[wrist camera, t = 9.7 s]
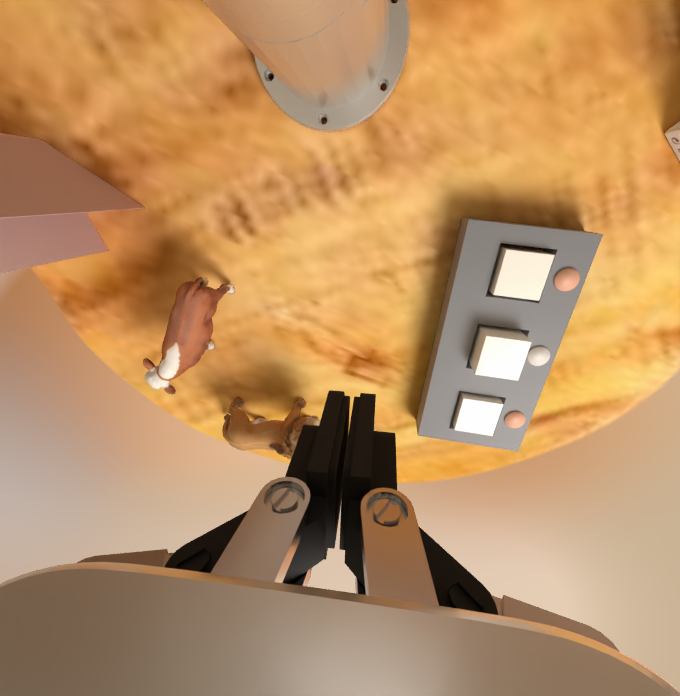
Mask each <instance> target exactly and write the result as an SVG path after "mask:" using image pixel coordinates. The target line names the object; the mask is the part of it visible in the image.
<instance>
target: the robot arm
mask: <svg viewBox="0 0 680 696" xmlns="http://www.w3.org/2000/svg"><path fill="white" fill-rule="evenodd" d="M202 1H203V2H204V3H205V4H206V5H207V6H208V7H209V8H210V10H211V11H212V12H213V13H214V14H215V15H216V16H217V17H218V18H219V19H220V20H221V21H222V22H223V23H224V24H225V25H226V26H227V27H228V28H229V29H230V30H231V31H232V32H233V33H234V34H235V35H236V36H237V37H238V38H239V40H240V41H241V42H242V43H243V44H244V45H245V46H246V47H247V48H248V49H249V50H250V51H251V52H252V53H253V54H254V58H255V63H256V67H257V70H258V73H259V75H260V78H261V80H262V83H263V85H264V87H265V88H266V90H267V92H268V94H269V95H270V97H271V99H272V100H273V101H274V102H275V103H276V105H277V106H278V107H279V108H280V109H281V110H282V111H283V112H284V113H285V114H286V115H287V116H289V117H290V118H291V119H293V120H294V121H296V122H297V123H299V124H301V125H303V126H305V127H308V128H310V129H313V130H318V131H324V132H335V131H343V130H346V129H349V128H353V127H355V126H357V125H359V124H361V123H362V122H364V121H366V120H367V119H369V118H370V117H371V116H372V115H373V114H375V113H376V112H377V111H378V110H379V109H380V108H381V107H382V105H383V104H384V103H385V102H386V101H387V99H388V98H389V97H390V95H391V93H392V92H393V90H394V88H395V86H396V85H397V83H398V80H399V78H400V75H401V73H402V70H403V67H404V64H405V59H406V55H407V50H408V42H409V10H408V4H407V0H398V1H397V3H394V4H393V3H392V2H391V0H202ZM271 75H274V79H273V80H272V81H270V76H271ZM383 84H385V85H386V86H387V88H386V90H385V91H382V90H381V89H380V87H381V86H382V85H383ZM323 118H327V123H326V124H322V119H323ZM375 397H376V394H365V393H361V394H360V397H354V402H353V409H352V416H351V422H350V429H349V407H350V396H344V392H342V391H329V393H328V396H327V400H326V403H325V407H324V411H323V414H322V418H321V421H320V425H319V426H316V425H306V424H304V425H303V427H302V430H301V433H300V436H299V439H298V441H297V444H296V447H295V450H294V453H293V456H292V459H291V462H290V465H289V467H288V471H287V473H286V476H285V477H282V478H278V479H275V480H272V481H271V482H269V483H268V484H266V485H265V486H264V487H263V489H262V490H261V491H260V493H259V495H258V496H257V498H256V499H255V501H254V503H253V504H252V506H251V508H250V509H249V510H248V511H246V512H244V513H243V514H241V515H239V516H237V517H235V518H233V519H232V520H230V521H228V522H226V523H224V524H222V525H220V526H219V527H217V528H215V529H213V530H211V531H209V532H207V533H206V534H204V535H202V536H200V537H198V538H196V539H195V540H193V541H191V542H189V543H187V544H185V545H184V546H182V547H181V548H180V549H178V550H177V551H176V552H175V553H168V551H167V549H163V550H153V551H142V552H133V553H121V554H110V555H100V556H93V557H89V558H85V559H83V560H81V561H80V562H77V563H75V564H65V565H58V566H54V567H49V568H45V569H41V570H36V571H33V572H30V573H27V574H23V575H20V576H18V577H15V578H13V579H10V580H8V581H5V582H3V583H1V584H0V696H680V692H679V691H678V690H677V689H676V688H675V687H673V686H672V685H671V684H670V683H669V682H667V681H666V680H665V679H663V678H662V677H660V676H659V675H658V674H656V673H655V672H653V671H652V670H650V669H649V668H647V667H645V666H644V665H642V664H641V663H639V662H637V661H636V660H634V659H632V658H630V657H628V656H626V655H624V654H622V653H621V652H619V650H618V649H617V648H616V647H615V645H614V644H613V643H612V642H611V641H610V640H609V639H608V638H607V637H605V636H604V635H603V634H602V633H601V632H599V631H597V630H596V629H594V628H592V627H590V626H588V625H585V624H583V623H580V622H577V621H574V620H571V619H569V618H566V617H563V616H560V615H558V614H555V613H552V612H549V611H547V610H544V609H541V608H538V607H535V606H533V605H530V604H527V603H524V602H522V601H519V600H516V599H513V598H510V597H508V596H505V595H503V598H502V599H500V598H497V597H494V596H492V595H491V594H490V592H489V591H488V590H487V589H486V588H485V587H484V586H483V585H482V584H481V583H480V582H479V581H478V580H477V579H476V578H475V577H474V576H473V575H472V574H470V573H469V572H468V571H467V570H466V569H465V568H464V567H463V566H462V565H460V564H459V563H458V562H457V561H456V560H455V559H454V558H453V557H452V556H451V555H450V554H448V553H447V552H446V551H445V550H444V549H443V548H442V547H441V546H440V545H439V544H437V543H436V542H435V541H434V540H433V539H432V538H431V537H430V536H429V535H427V534H426V533H425V532H424V531H423V530H422V529H421V528H420V527H419V526H418V523H417V519H416V515H415V512H414V508H413V506H412V503H411V501H410V500H409V499H408V498H407V497H406V496H405V495H404V494H402V493H401V492H399V491H397V473H396V442H395V433H389V432H379V431H374V415H375ZM348 429H349V435H348ZM341 499H342V500H341ZM340 506H341V528H340V549H342V550H345V564H346V565H347V566H348V567H349V569H350V570H351V571H352V572H353V573H354V575H355V576H356V583H355V584H356V594H355V593H348V592H341V591H334V590H327V589H320V588H313V587H307V585H308V582H309V579H310V575H311V570H312V569H311V568H312V567H313V566H315V565H316V564H318V563H319V562H320V561H322V560H323V559H326V556H327V550H328V548H334V547H335V540H336V534H337V526H338V520H339V513H340Z"/></svg>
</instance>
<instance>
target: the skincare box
mask: <svg viewBox="0 0 680 696" xmlns="http://www.w3.org/2000/svg"><path fill="white" fill-rule="evenodd" d="M665 136H666V138H667V140H668V142H669V143H670V146H671V147H672V149H673V151H674V152H675V154H676V156H677V158H678V160H679V161H680V121H679V122H678V123H676V124H675V125H674V126H672V127H671V128H670V129H669V130H667V131H666V132H665Z"/></svg>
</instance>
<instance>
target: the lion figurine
mask: <svg viewBox="0 0 680 696" xmlns="http://www.w3.org/2000/svg"><path fill="white" fill-rule="evenodd" d="M243 404H244V402H243V400H242V399H240V398H237V399H235V400H234V401H233V402H232V404H231V406H230V408H229V411H228V412H229V413H230V414H231V415H228V414H227V415H226V416H224V419H225V423H224V425H223V436H224V438H225V439H226V440H227V441H228V442H229V444H230V445H231V446H233V447H235V448H237V449H239V450H253V449H267V450H276V451H277V453H278V454H280V455H283V456H284V457H287V458H288V459H292V456H293V453H294V450H295V447H296V444H297V441H298V439H299V436H300V433H301V430H302V427H303V425H304V424H306V425H316V426H319V425H320V421H319V419H318V417H317V416H312V417H310V416H306V417H304V418H303V417H300V411H301V409H302V408H304V407H305V406H306V402H305V400H303V399H302V398H300V399H298V400H297V401H296V402H295V404H294V407H293V409H292V411H291V413H290V414H289V415H288V416H287V417H286V418H285V420H284V421H278V420H270V421H266V419H264V418H258V419H256V420H253V421H251V422H250V420H249V418H248V416H247V415H246V413H245V412H244V411H242V410H240V409H239V408H237V407H242V406H243ZM230 421H231V422H230Z"/></svg>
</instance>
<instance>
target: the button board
mask: <svg viewBox="0 0 680 696" xmlns="http://www.w3.org/2000/svg"><path fill="white" fill-rule="evenodd" d="M602 236H603V234H598V233H593V232H588V231H581V230H572V229H563V228H554V227H545V226H537V225H528V224H519V223H510V222H501V221H492V220H483V219H474V218H466V217H462V220H461V225H460V229H459V233H458V238H457V242H456V247H455V251H454V255H453V260H452V264H451V268H450V273H449V277H448V282H447V286H446V290H445V295H444V299H443V303H442V308H441V312H440V317H439V321H438V325H437V330H436V334H435V339H434V343H433V347H432V352H431V356H430V360H429V365H428V369H427V374H426V378H425V382H424V387H423V391H422V395H421V400H420V404H419V409H418V413H417V417H416V425H417V433H418V436H424V437H430V438H437V439H443V440H449V441H456V442H462V443H468V444H474V445H481V446H487V447H493V448H500V449H506V450H512V451H518V450H519V448H520V445H521V443H522V440H523V438H524V435H525V432H526V430H527V427H528V425H529V422H530V420H531V417H532V415H533V412H534V409H535V407H536V404H537V402H538V399H539V397H540V394H541V392H542V389H543V386H544V384H545V381H546V379H547V376H548V374H549V371H550V369H551V366H552V363H553V361H554V358H555V356H556V353H557V351H558V348H559V346H560V343H561V340H562V338H563V335H564V333H565V330H566V328H567V325H568V323H569V320H570V317H571V315H572V312H573V310H574V307H575V305H576V302H577V300H578V297H579V294H580V292H581V289H582V287H583V284H584V282H585V279H586V277H587V274H588V271H589V269H590V266H591V264H592V261H593V259H594V256H595V254H596V251H597V248H598V246H599V243H600V241H601V238H602ZM500 243H505V244H513V245H522V246H530V247H539V248H543V249H542V251H545V252H548V253H550V254H553V255H555V256H554V259H553V262H552V265H551V268H550V271H549V274H548V277H547V279H546V282H545V285H544V288H543V291H542V294H541V297H540V300H539V301H537V300H529V299H521V298H514V297H506V296H498V295H493V294H492V293H491V292H490V291H489V290H488V286H489V283H490V279H491V275H492V272H493V268H494V265H495V261H496V257H497V254H498V250H499V247H500ZM478 324H483V325H491V326H498V327H506V328H513V329H520V330H521V331H522V332H523V334H524V335H525V336H526V337H527V338H528V339H529V340H530V341H531V342H532V343H531V346H530V348H529V351H528V354H527V357H526V360H525V363H524V365H523V368H522V371H521V374H520V377H519V379H518V381H517V380H510V379H503V378H496V377H489V376H482V375H475V373H474V371H473V369H472V367H471V365H470V363H469V361H468V358H469V354H470V351H471V347H472V344H473V340H474V336H475V333H476V329H477V326H478ZM459 391H463V392H470V393H477V394H483V395H490V396H497V397H500V399H501V401H502V403H503V407H502V410H501V413H500V416H499V419H498V422H497V424H496V427H495V430H494V433H493V436H489V435H483V434H477V433H470V432H464V431H457V430H454V426H453V423H452V415H453V412H454V408H455V405H456V401H457V397H458V394H459Z"/></svg>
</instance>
